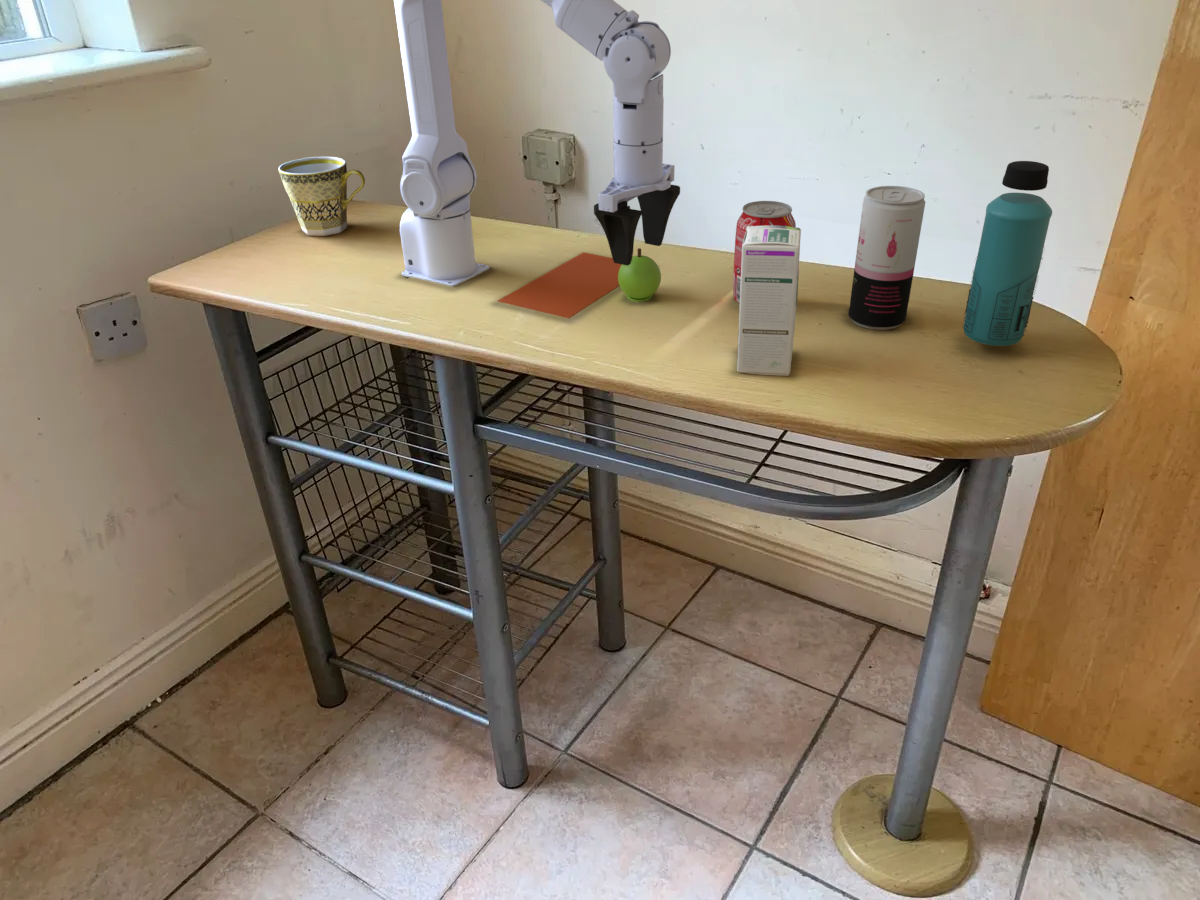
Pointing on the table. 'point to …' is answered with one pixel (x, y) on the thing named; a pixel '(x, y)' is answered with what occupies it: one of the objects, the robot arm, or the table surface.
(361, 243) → the table surface
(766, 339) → the syrup box
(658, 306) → the table surface
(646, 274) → the apple
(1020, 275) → the beverage bottle
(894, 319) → the beverage can
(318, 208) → the ceramic cup
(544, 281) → the cloth
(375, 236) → the table surface
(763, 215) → the soda can
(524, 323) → the table surface
